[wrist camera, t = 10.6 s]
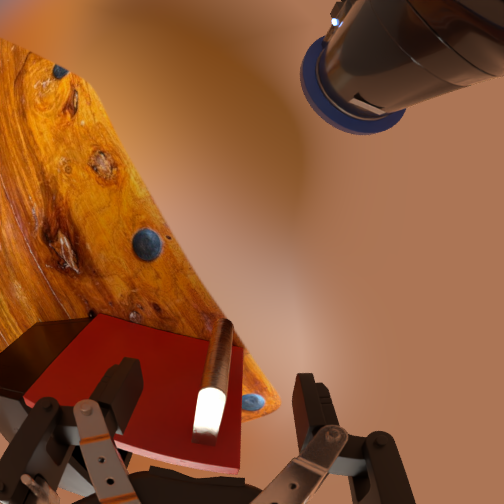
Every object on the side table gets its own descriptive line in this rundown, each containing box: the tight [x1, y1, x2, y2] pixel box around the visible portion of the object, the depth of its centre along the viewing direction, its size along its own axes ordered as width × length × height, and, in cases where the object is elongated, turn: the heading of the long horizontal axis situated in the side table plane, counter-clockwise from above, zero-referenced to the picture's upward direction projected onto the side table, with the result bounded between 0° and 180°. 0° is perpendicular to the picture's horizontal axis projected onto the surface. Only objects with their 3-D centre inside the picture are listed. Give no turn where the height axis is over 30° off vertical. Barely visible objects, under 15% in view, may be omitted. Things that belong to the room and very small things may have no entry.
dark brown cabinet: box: [0, 317, 132, 497], centre depth 22 cm, size 11×16×15 cm
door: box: [23, 313, 243, 475], centre depth 20 cm, size 7×16×15 cm, turn 78°
